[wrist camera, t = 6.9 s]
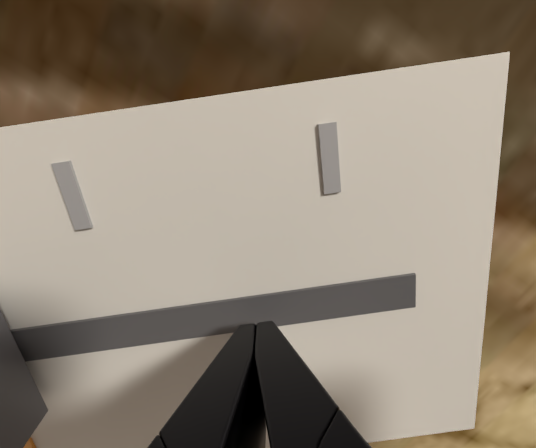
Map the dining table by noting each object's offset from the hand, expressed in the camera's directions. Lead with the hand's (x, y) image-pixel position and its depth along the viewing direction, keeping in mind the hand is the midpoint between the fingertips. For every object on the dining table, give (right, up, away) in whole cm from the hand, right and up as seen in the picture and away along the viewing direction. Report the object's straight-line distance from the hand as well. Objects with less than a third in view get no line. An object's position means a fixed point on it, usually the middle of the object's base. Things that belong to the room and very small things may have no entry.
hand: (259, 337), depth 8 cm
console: (-4, 0, +2) cm, 4 cm away
